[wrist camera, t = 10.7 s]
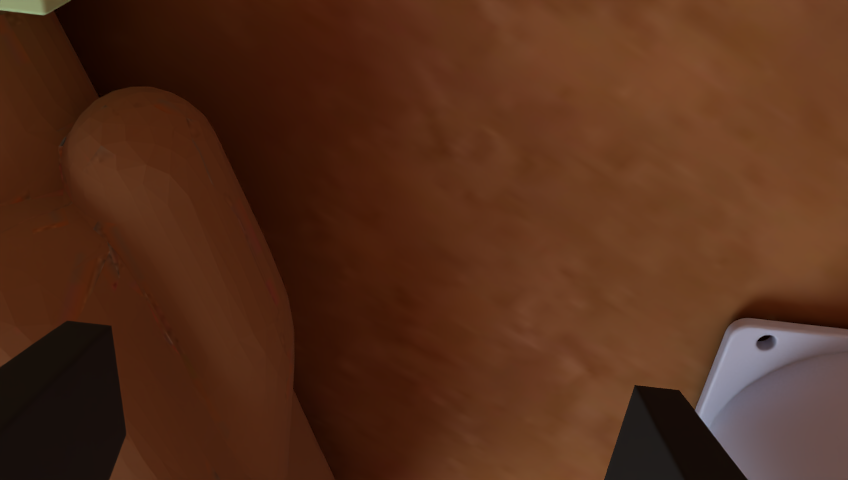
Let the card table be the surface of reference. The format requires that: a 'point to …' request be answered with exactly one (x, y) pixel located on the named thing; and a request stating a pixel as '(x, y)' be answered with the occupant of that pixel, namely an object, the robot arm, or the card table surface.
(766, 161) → the card table surface
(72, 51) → the toy
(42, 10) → the felt cube
